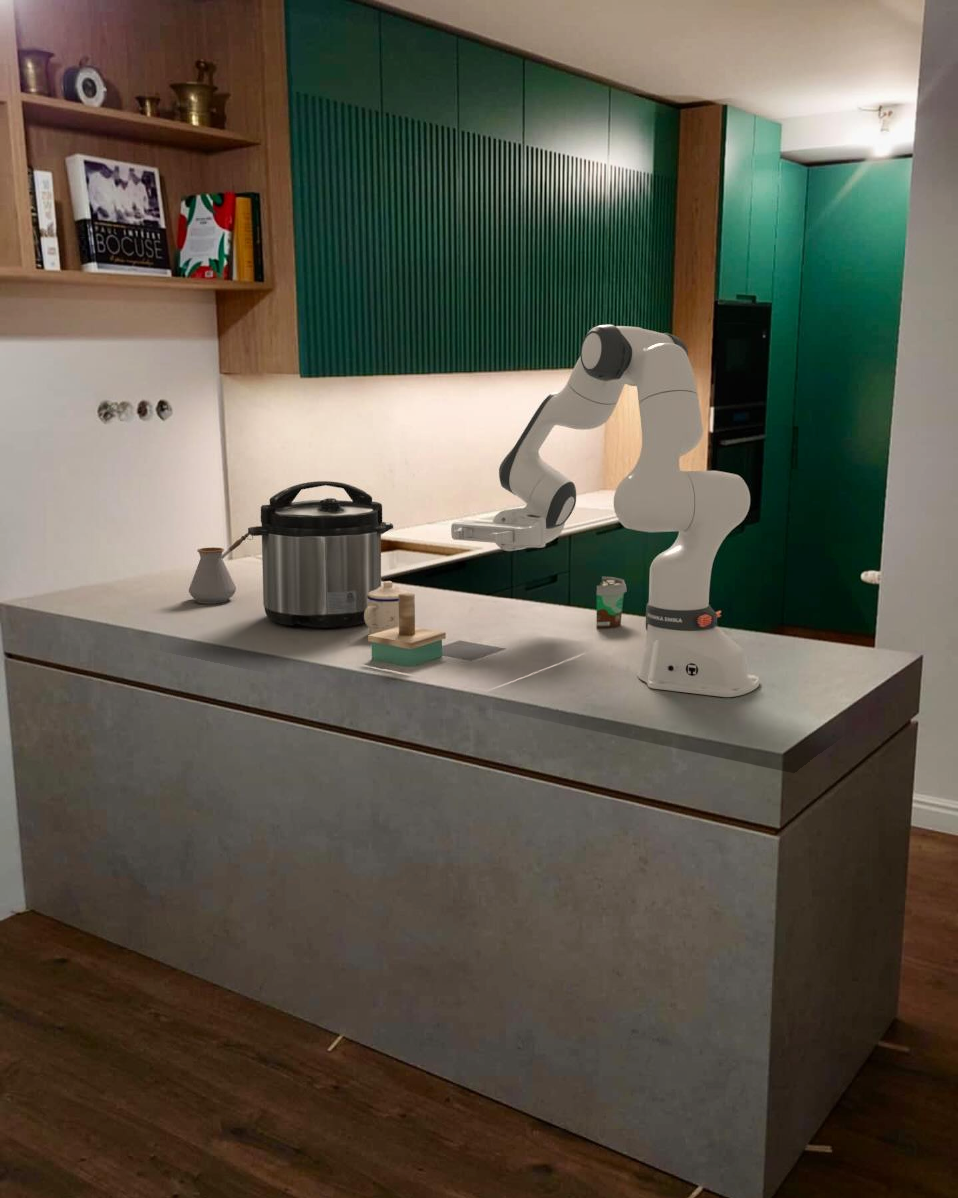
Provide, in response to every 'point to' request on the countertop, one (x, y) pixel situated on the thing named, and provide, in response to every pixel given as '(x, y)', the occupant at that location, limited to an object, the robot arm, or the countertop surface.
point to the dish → (406, 653)
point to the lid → (407, 628)
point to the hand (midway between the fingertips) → (474, 536)
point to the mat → (468, 650)
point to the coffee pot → (213, 576)
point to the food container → (610, 602)
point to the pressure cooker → (320, 556)
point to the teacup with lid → (383, 608)
